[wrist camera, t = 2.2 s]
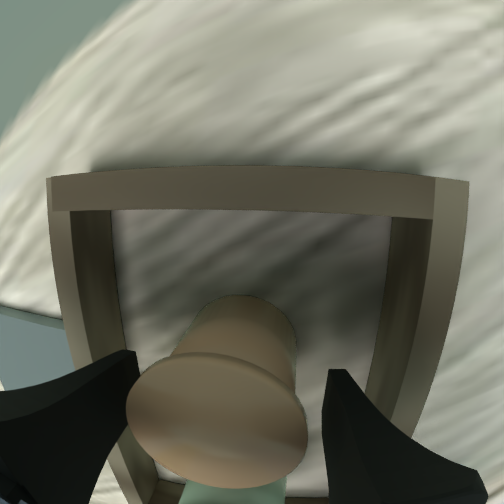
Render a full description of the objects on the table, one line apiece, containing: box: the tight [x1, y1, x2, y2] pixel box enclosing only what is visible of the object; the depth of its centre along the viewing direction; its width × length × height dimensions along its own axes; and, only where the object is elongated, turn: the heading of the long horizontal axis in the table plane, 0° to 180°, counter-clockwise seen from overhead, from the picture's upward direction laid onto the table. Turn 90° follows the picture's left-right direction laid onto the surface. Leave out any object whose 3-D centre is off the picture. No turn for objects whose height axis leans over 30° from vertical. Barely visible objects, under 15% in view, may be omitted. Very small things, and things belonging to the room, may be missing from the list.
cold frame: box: [46, 165, 469, 504], centre depth 13 cm, size 21×14×4 cm
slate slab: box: [0, 306, 75, 391], centre depth 16 cm, size 10×10×1 cm
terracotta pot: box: [126, 295, 308, 489], centre depth 11 cm, size 6×6×6 cm
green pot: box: [179, 475, 287, 504], centre depth 13 cm, size 6×6×6 cm
